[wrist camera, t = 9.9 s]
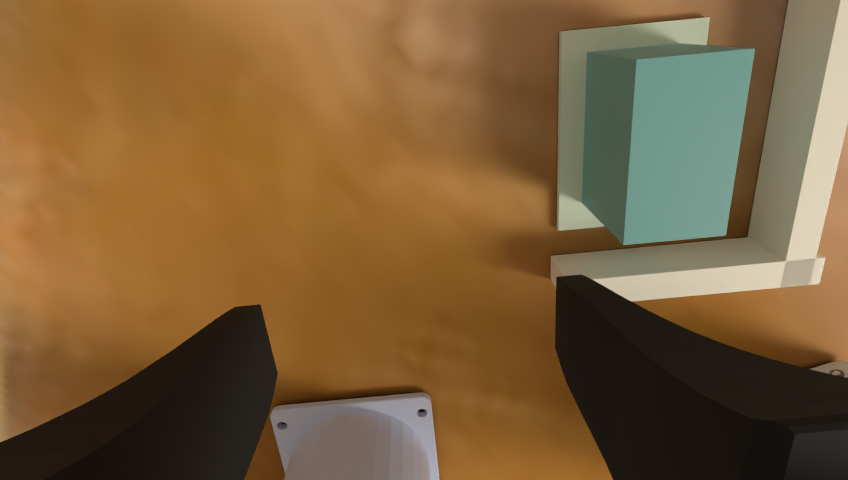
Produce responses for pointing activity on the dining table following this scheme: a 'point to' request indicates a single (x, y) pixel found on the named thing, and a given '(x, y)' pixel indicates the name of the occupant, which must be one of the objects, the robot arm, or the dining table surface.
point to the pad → (573, 98)
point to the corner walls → (760, 182)
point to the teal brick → (664, 139)
